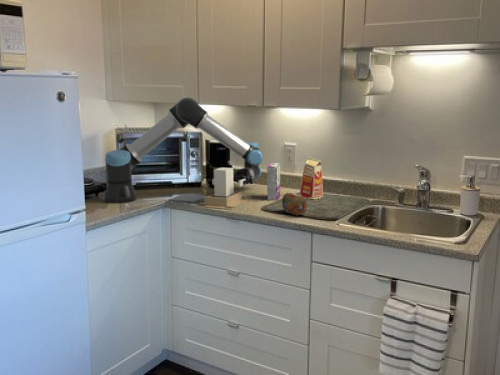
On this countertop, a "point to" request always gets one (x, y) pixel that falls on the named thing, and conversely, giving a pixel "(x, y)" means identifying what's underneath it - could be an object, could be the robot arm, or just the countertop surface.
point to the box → (223, 182)
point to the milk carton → (312, 180)
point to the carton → (223, 201)
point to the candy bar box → (273, 181)
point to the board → (188, 198)
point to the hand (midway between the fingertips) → (226, 182)
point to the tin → (294, 203)
